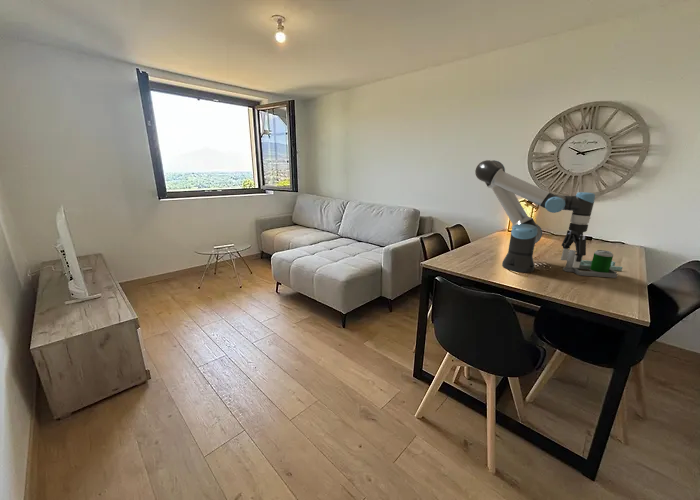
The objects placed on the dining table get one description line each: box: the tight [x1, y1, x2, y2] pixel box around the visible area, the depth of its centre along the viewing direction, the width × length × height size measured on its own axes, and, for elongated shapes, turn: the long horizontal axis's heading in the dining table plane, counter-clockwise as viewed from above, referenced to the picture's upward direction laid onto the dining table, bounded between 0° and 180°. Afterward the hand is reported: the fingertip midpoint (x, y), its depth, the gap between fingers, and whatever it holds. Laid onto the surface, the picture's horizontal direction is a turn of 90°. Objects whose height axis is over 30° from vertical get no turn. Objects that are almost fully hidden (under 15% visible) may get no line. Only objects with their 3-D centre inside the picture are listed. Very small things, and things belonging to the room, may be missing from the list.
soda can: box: [589, 249, 614, 273], centre depth 150 cm, size 8×8×12 cm
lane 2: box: [580, 256, 623, 272], centre depth 160 cm, size 21×9×11 cm, turn 78°
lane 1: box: [562, 249, 618, 279], centre depth 151 cm, size 21×12×11 cm, turn 78°
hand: (569, 263), depth 153 cm, fingers open, 11 cm apart
